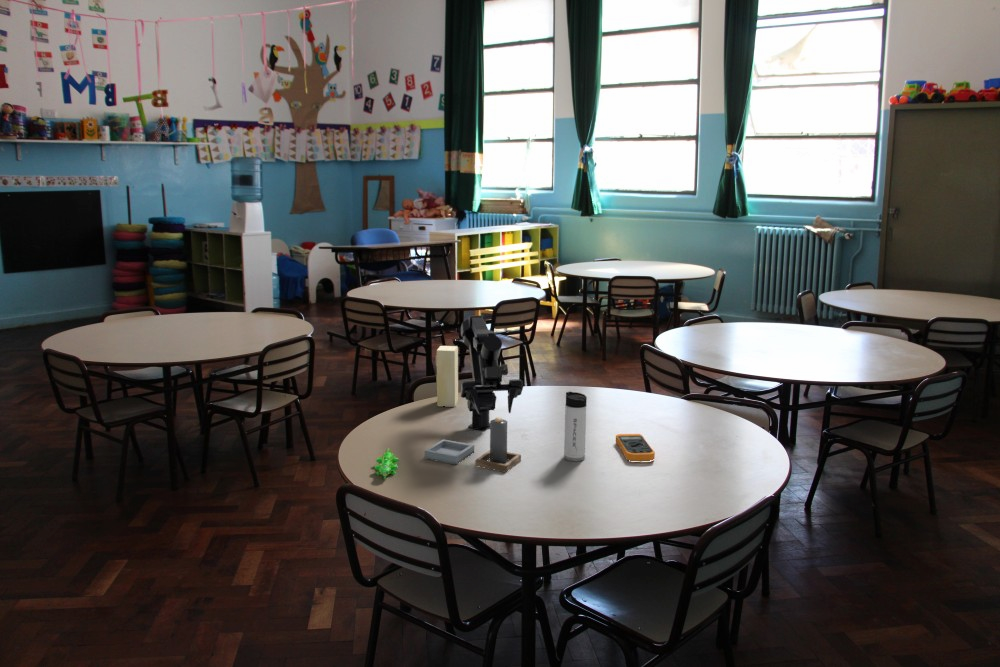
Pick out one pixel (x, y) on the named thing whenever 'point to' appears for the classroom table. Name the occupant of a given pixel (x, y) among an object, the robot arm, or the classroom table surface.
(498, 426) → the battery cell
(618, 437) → the multimeter
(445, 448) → the tray
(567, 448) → the travel mug
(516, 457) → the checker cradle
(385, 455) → the crocodile figurine
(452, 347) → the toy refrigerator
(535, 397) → the classroom table surface
